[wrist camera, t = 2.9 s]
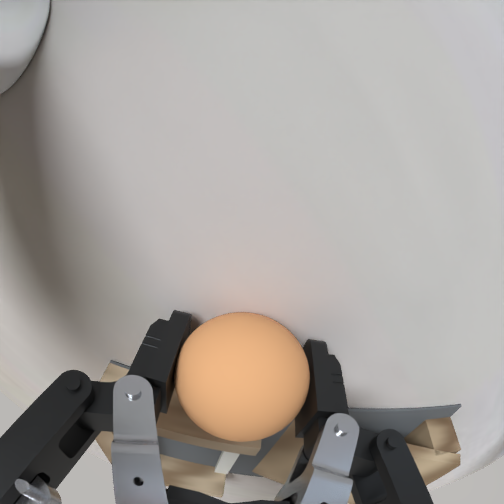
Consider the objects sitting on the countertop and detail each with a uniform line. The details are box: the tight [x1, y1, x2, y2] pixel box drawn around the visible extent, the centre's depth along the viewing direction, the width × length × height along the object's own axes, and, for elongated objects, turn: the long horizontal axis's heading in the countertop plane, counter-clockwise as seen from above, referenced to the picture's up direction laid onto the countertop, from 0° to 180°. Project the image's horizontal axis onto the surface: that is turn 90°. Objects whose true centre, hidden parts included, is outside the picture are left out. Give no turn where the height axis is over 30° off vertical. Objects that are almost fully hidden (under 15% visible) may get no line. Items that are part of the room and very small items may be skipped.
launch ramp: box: [252, 417, 461, 504], centre depth 17 cm, size 14×12×6 cm
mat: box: [110, 361, 461, 477], centre depth 18 cm, size 25×15×1 cm, turn 77°
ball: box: [174, 312, 310, 442], centre depth 10 cm, size 5×5×5 cm
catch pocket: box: [96, 363, 261, 497], centre depth 16 cm, size 9×15×4 cm, turn 167°
